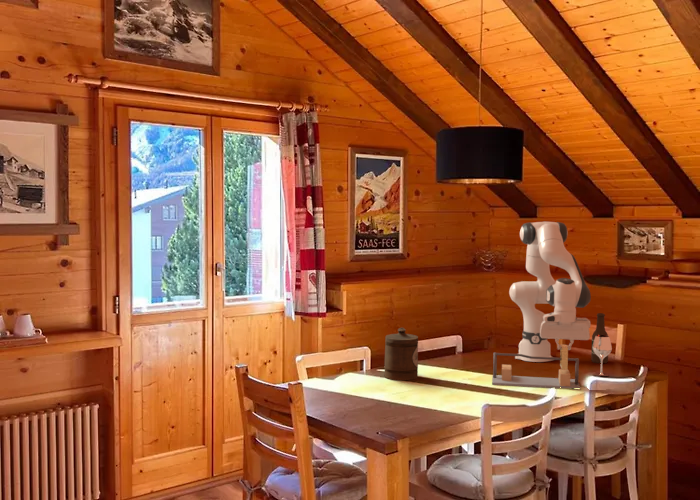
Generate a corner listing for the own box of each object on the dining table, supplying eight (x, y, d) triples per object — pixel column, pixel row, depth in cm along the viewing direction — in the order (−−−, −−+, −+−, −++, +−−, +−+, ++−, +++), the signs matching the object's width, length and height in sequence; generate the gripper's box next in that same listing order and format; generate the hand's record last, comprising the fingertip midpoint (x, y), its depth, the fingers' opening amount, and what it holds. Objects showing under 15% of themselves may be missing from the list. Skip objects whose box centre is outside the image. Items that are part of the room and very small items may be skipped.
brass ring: (560, 365, 306) (560, 344, 305) (565, 365, 305) (566, 344, 304) (561, 369, 298) (562, 347, 297) (567, 369, 297) (568, 348, 297)
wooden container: (422, 379, 312) (423, 329, 311) (391, 381, 308) (391, 331, 307) (410, 371, 326) (411, 324, 325) (380, 373, 322) (380, 325, 321)
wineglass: (590, 376, 319) (591, 336, 318) (593, 372, 326) (594, 333, 325) (609, 378, 315) (610, 338, 314) (612, 374, 322) (613, 335, 321)
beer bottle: (587, 361, 350) (589, 312, 349) (599, 359, 353) (601, 312, 352) (599, 364, 343) (600, 315, 342) (611, 363, 346) (612, 314, 345)
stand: (492, 377, 317) (493, 350, 316) (576, 381, 309) (577, 354, 309) (492, 384, 303) (492, 357, 302) (580, 389, 296) (580, 361, 295)
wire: (495, 354, 312) (495, 352, 312) (576, 358, 305) (576, 356, 304) (495, 357, 307) (495, 355, 307) (577, 360, 300) (577, 359, 300)
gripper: (589, 316, 301) (588, 349, 302) (539, 315, 305) (539, 347, 306) (591, 319, 295) (590, 352, 296) (540, 317, 299) (540, 349, 300)
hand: (564, 349), depth 301 cm, fingers closed on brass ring, 2 cm apart
